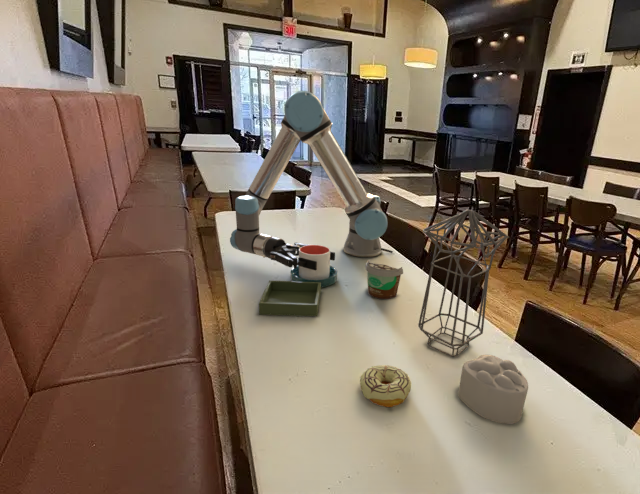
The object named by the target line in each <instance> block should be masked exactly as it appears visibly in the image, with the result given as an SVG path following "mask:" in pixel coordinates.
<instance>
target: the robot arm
mask: <svg viewBox="0 0 640 494" xmlns="http://www.w3.org/2000/svg"><path fill="white" fill-rule="evenodd" d="M283 111H284V116H283V118H282V120H281V122H280V125H281V128H280V130H279V132H278V133H277V136H276V137H275V139H274V141H273V143H272V145H271V147H270V149H269V150H268V152H267V154H266V156H265V158H264V160H263V162H262V163H261V165H260V167H259V168H258V171H257V173H256V174H255V176H254V177H253V180H252V182H251V184H250V185H249V188H248V189H247V191H246V193H245V195H240V196H237V197H236V198H235V203H234V204H235V205H234V209H235V222H236V223H235V224H236V229H234V230H233V231H232V232H231V234H230V237H229V243H230V246H231V247H233V248H234V249H235V250H238V251H240V252H243V253H248V254H252V255H255V256H258V257H259V256H260V257H262V258H268V259H270V260H271V261H275V262H277V263H280V264H282V265H284V266H286V267H287V268H293V267H294V268H297V265H298V266H301V267H304V268H308V269H312V270H317V262H316V261H312V260H309V259H305V258H301V257H299V249H300V248H301V247H303V246H307V245H308V243H307V244H306V243H300V242H294V243H293V244H291V243H286V241H285V240H284V238H280V237H276V236H272V235H269V234H264V233H260V215H261V212H262V211H263V209H264V207H265V205H266V204H267V202H268V199H269V197H270V196H271V194H272V192H273V190H274V188H275V187H276V186H277V183H278V181H279V180H280V178H281V177H282V174H283V173H284V171H285V169H286V167H287V166H288V163H289V162H290V160H291V159H292V157H293V155H294V153H295V151H296V150H297V148H298V146H299V144H300V142H301V143H303V144H306V145H308V146H309V148H310V149H311V150H312V152H313V154H314V156H315V157H316V159H317V160H318V162H319V164H320V166H321V167H322V169H323V170H324V172H325V173H326V175H327V177H328V178H329V180H330V182H331V183H332V185H333V186H334V188H335V189H336V192H337V193H338V194H339V196H340V198H341V200H342V201H343V202H344V205H345V210H344V212H345V214H346V216H347V217H348V219H349V222H348V223H349V227H348V233H347V236H346V238H345V242H344V245H343V252H344V253H345V254H346V255H349V256H352V257H355V258H375V257H377V256H380V255H381V253H382V251H383V252H387V253H390V254H393V252H394V250H391V249H388V248H387V249H386V248H383V247H382V245H381V241H380V237H382V236H383V235H384V234H385V233H386V231H387V229H388V223H389V222H388V217H387V215H386V213H385V212H384V211H383V210H382V207H381V205H382V202H381V201H382V200H381V197H380V196H379V195H376V194H372V193H369V192H367V190H366V189H365V187H364V185H363V184H362V181H361V180H360V178H359V177H358V174H357V173H356V171H355V170H354V168H353V166H352V165H351V162H350V161H349V160H348V157H347V156H346V154H345V152H344V151H343V149H342V147H341V146H340V143H339V142H338V140H337V139H336V137H335V135H334V134H333V132H332V127H333V122H332V121H331V119H330V117H329V116H328V114H327V112H326V111H325V109H324V107H323V104H322V102H321V100H320V98H319V97H317V95H315V93H313V92H310V91H308V90H297V91H295V92H293V93H292V94H291V95H289V96H288V97H287V99H286V101H285V103H284V109H283ZM335 260H336V252H334V251H331V250H330V261H333V262H334V261H335Z"/></svg>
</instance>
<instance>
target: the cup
mask: <svg viewBox="0 0 640 494" xmlns="http://www.w3.org/2000/svg"><path fill="white" fill-rule="evenodd" d="M330 251H331V249H330V248H329V247H328V246H324V245H321V244H307V246H303V247H301V248H300V249H299V256H298V258H299V257H301V258H305V259H309V260H312V261H316V262H317V270H312V269H308V268H304V267H301V266H299V277H300V278H304V279H312V280H318V279H326V278H328V277H329V274H330V266H331V260H330Z"/></svg>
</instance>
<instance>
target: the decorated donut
mask: <svg viewBox="0 0 640 494" xmlns="http://www.w3.org/2000/svg"><path fill="white" fill-rule="evenodd" d="M359 385H360V389H361V391H362V394H363V397H365V399H366V400H369V401H370V402H371V403H372V404H374V405H377V406H380V407H383V408H394V407H395V406H399V405H401V404H403V403H404V401H405V400H406V399H407V397H408V396H409V394H410V392H411V388H412V382H411V378H410V376H409V374H408V373H407V372H406V371H405V370H403V369H401V368H399V367H397V366H393V365H388V364H387V365H386V364H383V365H382V364H380V365H379V364H378V365H372V366H370V367H368V368H366V369H365V370H364V371H363V372H362V374H360V377H359Z"/></svg>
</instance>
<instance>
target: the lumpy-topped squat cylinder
mask: <svg viewBox="0 0 640 494" xmlns="http://www.w3.org/2000/svg"><path fill="white" fill-rule="evenodd" d="M457 391H458V392H457V395H458V398H459V400H460V401H461V402H462V403H463V404H465V405H466V406H467V408H469V409H470V410H472V411H473V412H474V413H476V414H477V415H479V416H480V417H482V418H484V419H486V420H489V421H492V422H495V423H499V424H507V425H512V424H516V423H519V422H520V421H521V419H522V415H523V411H524V407H525V403H526V399H527V395H528V391H529V383H528V379H527V378H526V376H525V375H524V374H523V373H522V371H521V370H519V369H518V367H517V365H516V364H515V363H514V362H513V361H512V360H509V359H502V358H500V357H498V356H496V355H493V354H481V355H479V356H477V357H475V358H473V359H469V360H466V361H465V362H463V364H462V369H461V374H460V379H459V386H458V390H457Z"/></svg>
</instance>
